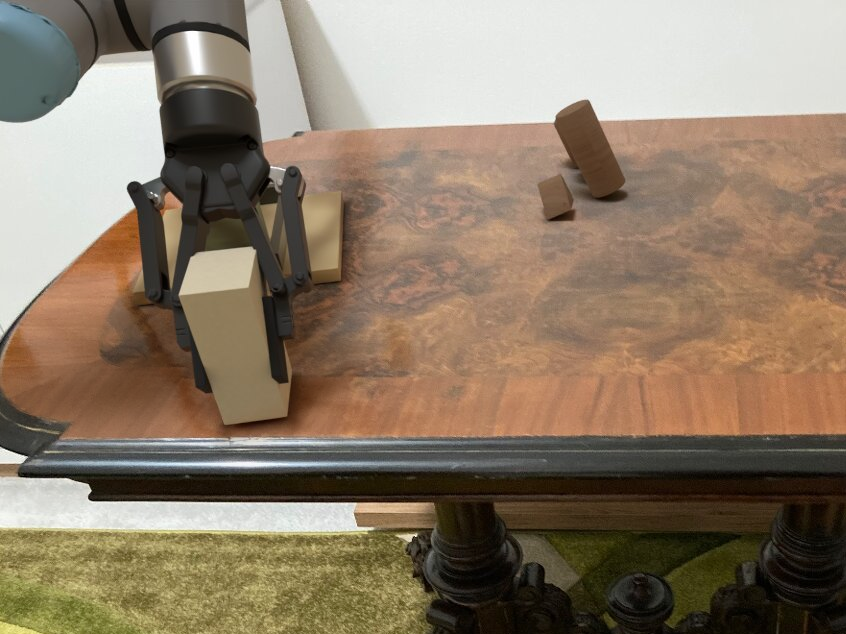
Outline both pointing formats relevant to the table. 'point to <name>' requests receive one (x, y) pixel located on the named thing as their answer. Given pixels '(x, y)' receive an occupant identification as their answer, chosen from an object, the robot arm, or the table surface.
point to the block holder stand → (270, 235)
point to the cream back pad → (233, 333)
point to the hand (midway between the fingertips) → (243, 384)
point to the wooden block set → (581, 159)
